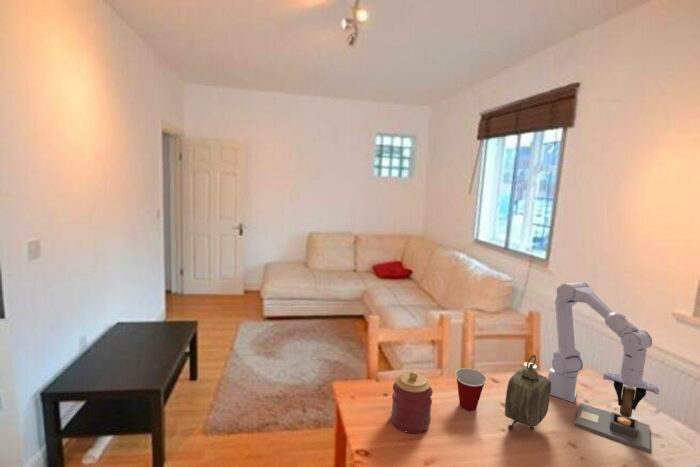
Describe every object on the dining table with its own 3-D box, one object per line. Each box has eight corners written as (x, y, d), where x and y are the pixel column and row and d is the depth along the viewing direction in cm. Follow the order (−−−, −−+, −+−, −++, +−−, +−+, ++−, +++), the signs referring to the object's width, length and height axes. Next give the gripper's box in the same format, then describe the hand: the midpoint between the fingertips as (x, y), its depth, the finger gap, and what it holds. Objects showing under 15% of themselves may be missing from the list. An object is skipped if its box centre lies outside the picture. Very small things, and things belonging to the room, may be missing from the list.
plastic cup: (450, 411, 134) (453, 379, 132) (454, 395, 144) (456, 365, 142) (483, 419, 130) (486, 386, 128) (484, 402, 140) (487, 371, 138)
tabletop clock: (520, 412, 135) (527, 345, 131) (547, 424, 129) (556, 354, 125) (502, 430, 125) (509, 358, 121) (530, 444, 119) (539, 368, 115)
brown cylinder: (619, 414, 125) (623, 389, 124) (619, 410, 128) (623, 385, 127) (631, 418, 124) (635, 392, 122) (631, 413, 126) (635, 388, 125)
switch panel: (574, 425, 129) (576, 415, 128) (580, 405, 141) (581, 396, 140) (649, 452, 117) (651, 441, 116) (648, 427, 129) (650, 418, 128)
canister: (434, 416, 131) (437, 368, 128) (424, 439, 119) (428, 386, 116) (397, 406, 136) (400, 359, 133) (385, 426, 124) (388, 376, 122)
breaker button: (617, 423, 126) (617, 420, 126) (617, 418, 129) (617, 415, 129) (630, 428, 124) (630, 425, 124) (630, 422, 127) (631, 419, 126)
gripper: (604, 364, 124) (599, 403, 126) (661, 379, 116) (655, 421, 118) (606, 357, 130) (601, 394, 132) (660, 370, 121) (654, 410, 123)
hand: (626, 406), depth 125 cm, fingers closed on brown cylinder, 3 cm apart
